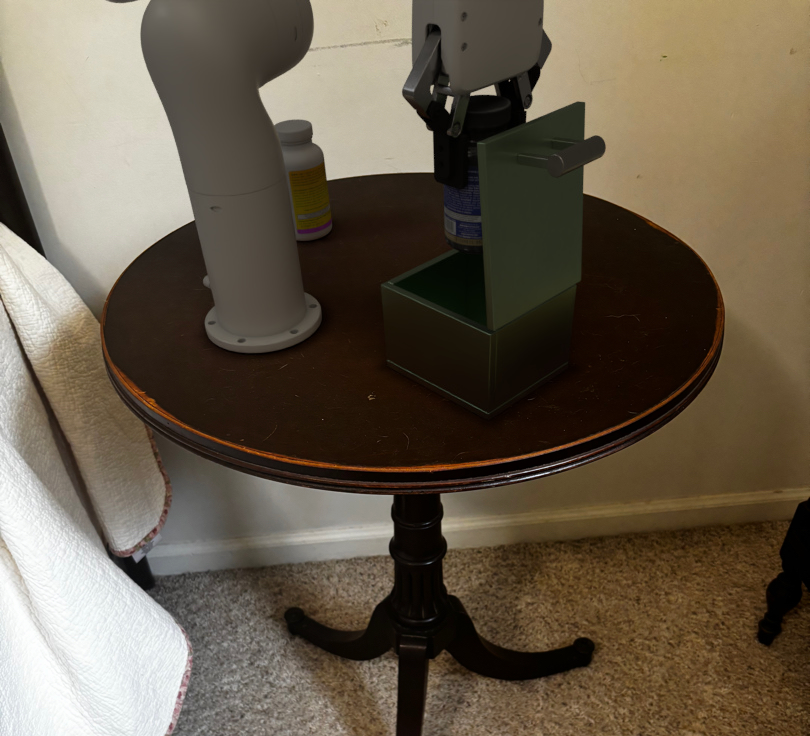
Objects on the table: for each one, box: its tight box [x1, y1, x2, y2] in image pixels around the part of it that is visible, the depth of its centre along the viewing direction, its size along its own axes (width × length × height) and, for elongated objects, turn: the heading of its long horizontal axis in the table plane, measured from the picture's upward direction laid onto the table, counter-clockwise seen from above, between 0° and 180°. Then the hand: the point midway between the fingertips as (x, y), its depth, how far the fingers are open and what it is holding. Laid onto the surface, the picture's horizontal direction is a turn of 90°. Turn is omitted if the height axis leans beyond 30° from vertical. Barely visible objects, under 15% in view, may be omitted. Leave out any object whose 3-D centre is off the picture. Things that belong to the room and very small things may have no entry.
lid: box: [477, 100, 607, 331], centre depth 63 cm, size 14×12×5 cm
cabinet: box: [380, 248, 578, 421], centre depth 76 cm, size 14×12×9 cm
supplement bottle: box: [274, 119, 333, 242], centre depth 99 cm, size 7×7×13 cm
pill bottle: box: [443, 94, 511, 254], centre depth 66 cm, size 6×6×11 cm
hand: (479, 169), depth 66 cm, fingers closed on pill bottle, 6 cm apart
